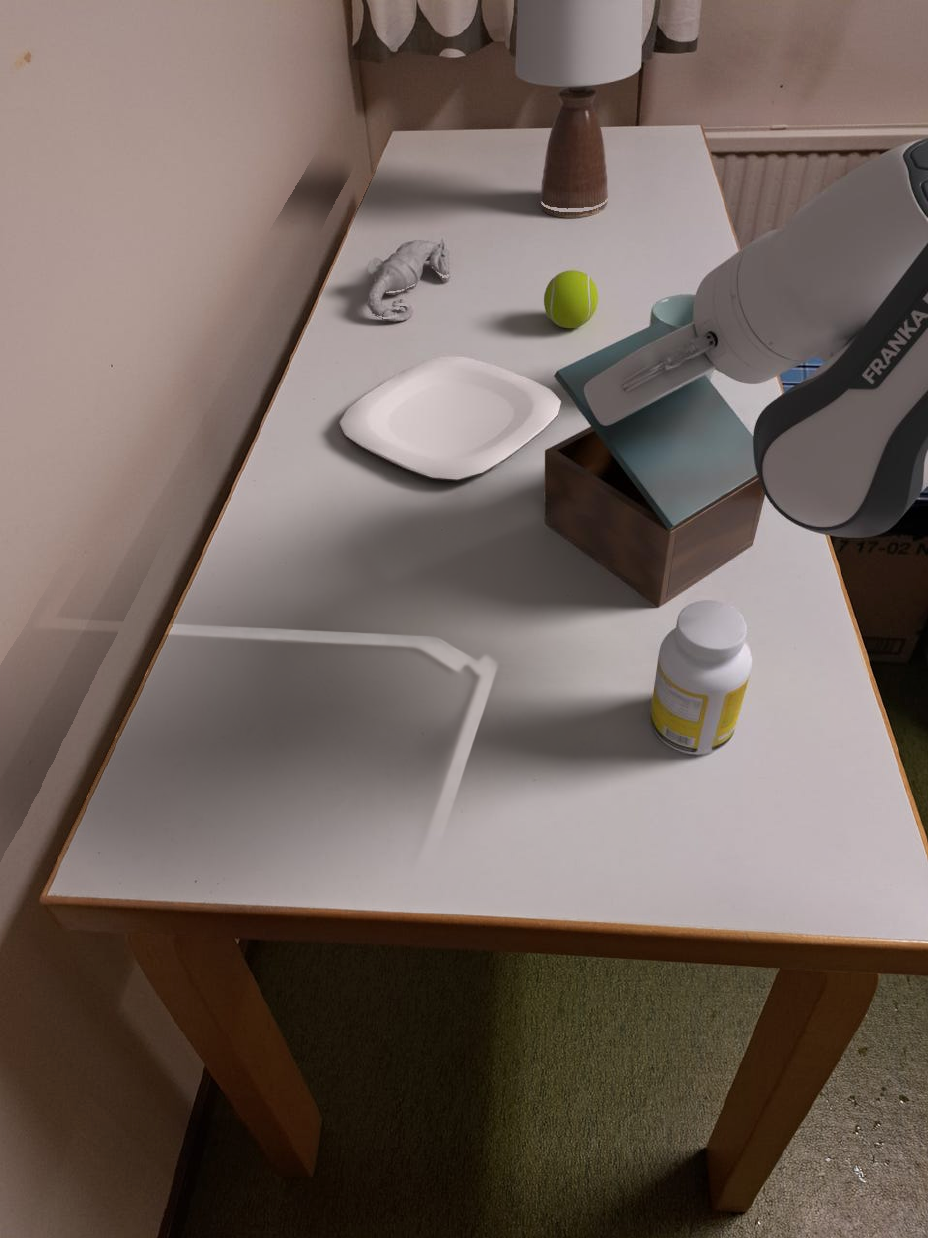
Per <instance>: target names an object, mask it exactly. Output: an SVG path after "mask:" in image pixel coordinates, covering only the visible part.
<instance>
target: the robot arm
mask: <svg viewBox="0 0 928 1238" xmlns="http://www.w3.org/2000/svg"><path fill="white" fill-rule="evenodd" d="M694 295H695V299H694V306H693V322H692V323H690V324H688V325H686V326H684V327H682V328H680V329H678V330H676V331H674V332H672V333H670V334H668V335H666V336H664V337H662V338H660V339H658V340H656V341H654V342H652V343H650V344H648V345H646V346H644V347H642V348H640V349H639V350H637V351H635V352H634V353H632V354H630V355H629V356H627V357H625V358H624V359H622V360H621V361H619V362H617V363H616V364H614V365H613V366H611V367H609V368H608V369H606V370H605V371H603V372H602V373H600V374H599V375H597V376H596V377H594V378H593V379H591V380H590V381H588V382H587V383H586V385H585V386H584V393H585V397H586V399H587V402H588V404H589V406H590V408H591V410H592V412H593V414H594V415H595V417H596V419H597V420H598V421H599V423H600V424H602V425H604V426H608V425H611V424H614V423H616V422H617V421H619V420H621V419H623V418H625V417H627V416H629V415H631V414H633V413H634V412H636V411H638V410H640V409H642V408H644V407H646V406H648V405H650V404H651V403H653V402H655V401H657V400H659V399H661V398H663V397H665V396H667V395H668V394H670V393H672V392H674V391H676V390H678V389H680V388H682V387H684V386H685V385H687V384H689V383H691V382H693V381H695V380H697V379H699V378H700V377H702V376H704V375H706V374H708V373H710V372H712V371H717V372H719V373H721V374H723V375H725V376H726V377H728V378H730V379H732V380H734V381H735V382H739V383H743V384H748V385H757V384H762V383H765V382H768V381H770V380H773V379H774V378H776V377H779V376H781V375H783V374H784V373H786V372H789V371H790V370H793V369H794V368H797V367H798V366H801V365H803V364H804V363H806V362H809V361H811V360H813V359H815V358H816V359H820V360H822V362H823V364H821V365H820V366H819V367H818V368H816V369H815V370H814V371H812V373H810V374H809V375H808V376H806V377H805V379H803V380H802V381H801V382H799V383H797V384H794V385H793V386H792V387H790V388H789V389H787V390H786V391H785V392H784V393H782V394H781V395H780V396H778V397H777V398H775V399H774V400H772V401H771V402H770V403H769V404H767V405H766V406H765V407H764V409H763V410H762V411H761V412H760V414H759V415H758V418H757V419H756V421H755V424H754V428H753V433H752V436H753V453H754V462H755V468H756V472H757V476H758V479H759V482H760V485H761V487H762V489H763V491H764V493H765V497H766V498H767V500H768V502H770V504H771V505H772V507H773V508H774V509H775V510H776V511H777V512H778V513H779V514H780V516H782V517H784V518H785V519H786V520H788V521H789V522H791V523H793V524H794V525H796V526H798V527H800V528H801V529H802V528H803V529H805V530H807V531H810V532H813V533H816V534H821V535H825V536H830V537H837V538H847V539H848V538H849V539H850V538H852V539H861V538H862V539H863V538H864V539H865V538H872V537H876V536H879V535H881V534H883V533H886V532H888V531H889V530H890V529H892V528H893V527H895V525H896V524H897V523H898V522H899V521H900V520H901V518H902V517H903V516H904V515H905V514H906V513H907V511H908V510H909V509H910V508H911V506H912V505H913V504H914V503H915V502H916V501H917V499H919V497H920V496H921V493H922V492H923V491H924V490H925V489H926V488H927V487H928V138H922V139H917V140H913V141H909V142H906V143H903V144H900V145H899V146H896V147H893V148H891V149H889V150H887V151H885V152H883V153H881V154H879V155H877V156H875V157H874V158H872V159H870V160H868V161H866V162H864V163H863V164H861V165H859V166H858V167H856V168H854V169H853V170H851V171H850V172H848V173H847V174H845V175H843V176H842V177H841V178H839V179H837V180H836V181H835V182H833V183H832V184H830V185H828V186H827V187H826V188H824V189H823V190H821V191H820V192H819V193H817V194H816V195H815V196H813V197H811V198H810V199H809V200H807V201H806V202H805V203H804V204H803V205H802V206H800V207H799V208H798V209H797V211H795V213H793V215H792V216H791V218H790V219H789V221H788V222H787V223H786V224H785V225H783V226H782V227H779V228H776V229H775V228H774V229H772V230H769V231H766V232H764V233H763V234H761V235H759V236H758V237H756V238H755V239H754V240H752V241H751V242H750V243H748V244H746V245H745V246H744V247H742V248H741V249H740V250H738V251H737V252H735V253H734V254H732V255H731V256H730V257H728V258H727V259H726V260H725V261H723V262H722V263H721V264H719V265H717V266H716V267H715V268H713V269H712V270H711V271H710V272H709V273H707V274H706V275H705V276H704V278H702V280H701V282H700V283H699V285H698V287H697V290H696V292H695V294H694Z"/></svg>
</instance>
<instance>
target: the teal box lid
mask: <svg viewBox="0 0 928 1238" xmlns="http://www.w3.org/2000/svg"><path fill="white" fill-rule="evenodd" d="M670 333H672V332H671V331H670V329H669V328H668V327H667V325H666V324H665V323H664V322H663V321H660V322H658V323H656V324H653V325H651V326H649V325H648V326H647V327H645V328H643V329H641V330H638V331H637V332H634V333H633V334H631V335H628V336H626V337H624V338H623V339H620V340H617V341H616V342H614V343H611V344H610V345H608V346H605V347H604V348H602V349H599V350H597V351H595V352H593V353H591V354H589V355H587V356H585V357H583V358H580V359H579V360H576V361H574V362H572V363H570V364H568V365H565V366H564V367H562V368H560V369H558V370H556V371H555V373H554V375H553V377H554V379H555V380H556V381H557V383H558V384H559V385H560V387H561V388H562V389H563V391H564V392H565V393H566V395H567V396H568V397H569V399H570V400H571V401H572V402H573V404H574V406H575V407H576V408H577V409H578V411H579V412H580V413H581V415H582V416H583V417H584V419H585V420H586V422H588V424H589V426H590V427H592V428H593V429H594V431H595V432H596V433H597V435H598V436H599V437H600V439H601V440H602V441H603V443H604V444H605V446H606V447H607V448H608V450H609V451H610V452H611V454H612V455H613V456H614V458H615V459H616V460H617V462H618V463H619V464H620V466H621V467H622V468H623V470H624V471H625V472H626V474H627V475H628V476H629V478H630V479H631V480H632V482H633V483H634V484H635V486H636V487H637V488H638V490H639V491H640V492H641V494H642V495H643V496H644V498H645V499H646V501H647V502H648V503H649V505H650V506H651V507H652V509H653V510H654V511H655V513H656V514H657V515H658V517H659V518H660V519H661V521H662V522H663V523H664V525H665V526H666V527H667V529H668V530H671V529H672V528H674V527H675V526H677V525H679V524H680V523H682V522H684V521H685V520H687V519H688V518H690V517H692V516H693V515H695V514H696V513H698V512H700V511H701V510H703V509H705V508H706V507H708V506H709V505H711V504H713V503H714V502H716V501H718V500H719V499H721V498H722V497H724V496H726V495H727V494H729V493H731V492H732V491H734V490H735V489H737V488H739V487H740V486H742V485H744V484H745V483H747V482H748V481H750V480H752V479H753V478H755V477H756V476H757V472H756V468H755V462H754V453H753V433H751V431H750V430H749V429H748V427H747V426H746V425H745V424H744V422H743V421H742V420H741V419H740V418H739V416H738V415H737V414H736V413H735V411H734V410H733V408H732V407H731V406H730V404H729V403H728V402H727V401H726V399H725V398H724V397H723V396H722V394H721V393H720V392H719V390H718V389H717V388H716V387H715V386H714V384H713V383H712V382H711V380H709V379H708V378H707V377H706V375H704V376H702V377H700V378H699V379H697V380H695V381H693V382H691V383H689V384H687V385H685V386H684V387H682V388H680V389H678V390H676V391H674V392H672V393H670V394H668V395H667V396H665V397H663V398H661V399H659V400H657V401H655V402H653V403H651V404H650V405H648V406H646V407H644V408H642V409H640V410H638V411H636V412H634V413H633V414H631V415H629V416H627V417H625V418H623V419H621V420H619V421H617V422H616V423H614V424H611V425H608V426H604V425H602V424H600V423H599V421H598V420H597V419H596V417H595V415H594V414H593V412H592V410H591V408H590V406H589V404H588V402H587V399H586V397H585V393H584V386H585V385H586V383H587V382H588V381H590V380H591V379H593V378H594V377H596V376H597V375H599V374H600V373H602V372H603V371H605V370H606V369H608V368H609V367H611V366H613V365H614V364H616V363H617V362H619V361H621V360H622V359H624V358H625V357H627V356H629V355H630V354H632V353H634V352H635V351H637V350H639V349H640V348H642V347H644V346H646V345H648V344H650V343H652V342H654V341H656V340H658V339H660V338H662V337H664V336H666V335H668V334H670Z"/></svg>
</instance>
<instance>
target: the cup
mask: <svg viewBox="0 0 928 1238" xmlns="http://www.w3.org/2000/svg"><path fill="white" fill-rule="evenodd" d="M695 295H696V294H689V293H688V294H686V293H685V294H676V295H671V296H666V297H664V298H661V299H660V300H658V301H656V302H655V303H654V304H653V305H652V307H651V310H650V313H649V314H650V315H649V322H648V323H649V324H648V327H649V326H651V325H653V324H656V323H658V322H660V321H663V322H664V323H665V324H666V325H667V327H668V328H669V329H670V331H671V332H674V331H676V330H678V329H680V328H682V327H684V326H686V325H688V324H690V323H692V322H693V306H694V299H695ZM714 371H715V370H714ZM714 371H712V372H710V373H708V374H706V377H707V378H708V379H709V380H710V381H711V380H712V377H713V376H714Z"/></svg>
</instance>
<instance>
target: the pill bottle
mask: <svg viewBox="0 0 928 1238" xmlns="http://www.w3.org/2000/svg"><path fill="white" fill-rule="evenodd" d="M747 632H748V626H747V622H746V619H745V618H744V616H743V614H741V612H740V611H739V610H737V609H736V608H734V607H733V606H731V605H729V604H728V603H726V602H725V603H724V602H721V601H717V600H707V599H706V600H698V601H695V602H692V603H690V604H688V605H686V606H685V607H683V608H682V610H681V611H680V612H679V614H678V616H677V619H676V625H675V627H674V628H673V629H671V630H670V631H669V632H668V633H667V634H666V635H665V637H664V638H663V640H662V642H661V644H660V646H659V650H658V657H657V665H656V670H655V671H656V672H655V678H654V686H653V690H652V691H653V692H652V700H651V705H650V706H651V707H650V722H651V726H652V729H653V731H654V733H655V734H656V736H657V737H658V739H660V740H661V741H662V742H663V743H664V744H665V745H666V746H668V747H670V748H671V749H673V750H676V751H677V752H681V753H683V754H688V755H707V754H712V753H714V752H717V751H718V750H721V749H722V748H723V747H725V746H726V745H727V744H729V741H730V740H731V739H732V738H733V736H734V734H735V731H736V727H737V723H738V719H739V717H740V716H739V715H740V712H741V710H742V709H741V708H742V705H743V702H744V698H745V696H746V695H745V694H746V692H747V687H748V684H749V681H750V680H749V679H750V676H751V672H752V667H753V657H752V656H753V655H752V652H751V649H750V647H749V644H748V643H747V642H746V638H747Z"/></svg>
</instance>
